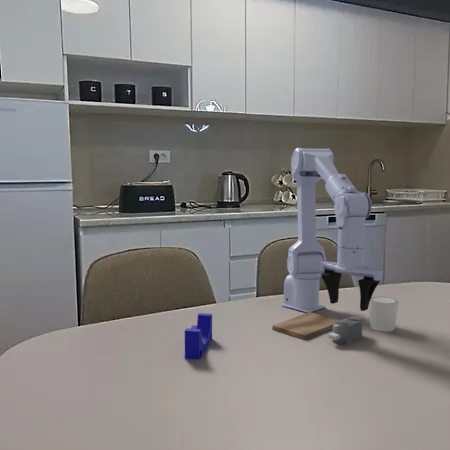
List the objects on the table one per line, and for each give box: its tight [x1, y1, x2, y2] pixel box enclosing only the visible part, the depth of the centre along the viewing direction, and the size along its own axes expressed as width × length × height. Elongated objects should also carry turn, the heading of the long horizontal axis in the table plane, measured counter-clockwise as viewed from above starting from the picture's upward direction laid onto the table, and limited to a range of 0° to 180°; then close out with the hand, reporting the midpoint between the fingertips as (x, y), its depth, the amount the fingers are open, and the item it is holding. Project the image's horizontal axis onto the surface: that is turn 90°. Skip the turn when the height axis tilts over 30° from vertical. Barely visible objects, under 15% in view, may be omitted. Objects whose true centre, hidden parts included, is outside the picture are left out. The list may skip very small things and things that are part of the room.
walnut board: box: [271, 312, 341, 341], centre depth 113 cm, size 10×16×1 cm, turn 134°
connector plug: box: [327, 316, 364, 346], centre depth 105 cm, size 4×11×4 cm, turn 134°
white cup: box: [369, 296, 399, 333], centre depth 113 cm, size 7×7×7 cm
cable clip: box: [184, 312, 213, 361], centre depth 99 cm, size 12×4×6 cm, turn 169°
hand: (348, 306), depth 105 cm, fingers open, 7 cm apart
